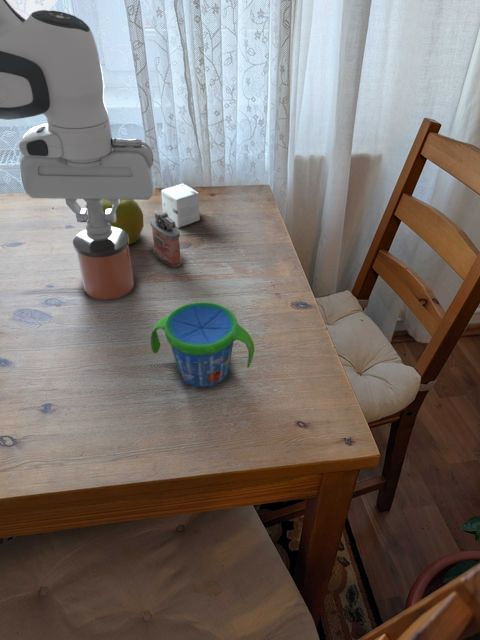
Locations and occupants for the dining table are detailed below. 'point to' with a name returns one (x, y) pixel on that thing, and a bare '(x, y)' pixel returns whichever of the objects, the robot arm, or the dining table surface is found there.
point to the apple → (127, 218)
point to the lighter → (166, 239)
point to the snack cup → (202, 341)
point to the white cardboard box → (181, 204)
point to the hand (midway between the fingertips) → (97, 220)
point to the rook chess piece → (97, 221)
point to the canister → (105, 264)
